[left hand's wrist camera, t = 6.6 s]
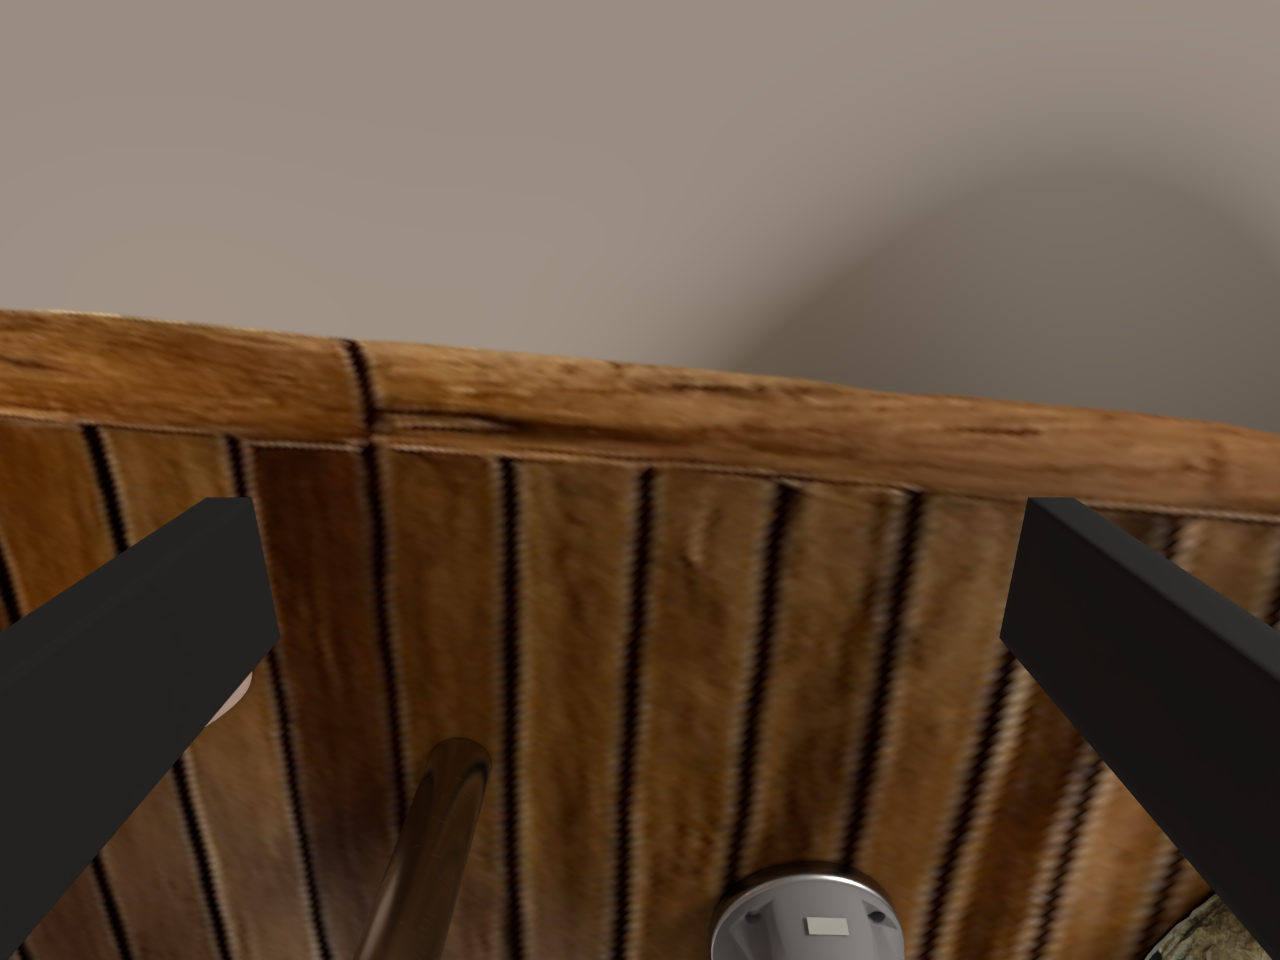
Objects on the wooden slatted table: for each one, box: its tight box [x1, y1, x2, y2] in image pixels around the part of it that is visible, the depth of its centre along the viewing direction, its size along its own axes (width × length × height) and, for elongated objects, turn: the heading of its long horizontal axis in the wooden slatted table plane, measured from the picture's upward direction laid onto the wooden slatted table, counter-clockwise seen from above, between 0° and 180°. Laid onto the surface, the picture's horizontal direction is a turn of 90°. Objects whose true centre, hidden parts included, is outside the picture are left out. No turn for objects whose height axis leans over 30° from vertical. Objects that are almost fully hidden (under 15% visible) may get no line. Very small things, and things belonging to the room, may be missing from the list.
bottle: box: [352, 738, 492, 960], centre depth 42 cm, size 4×5×23 cm
